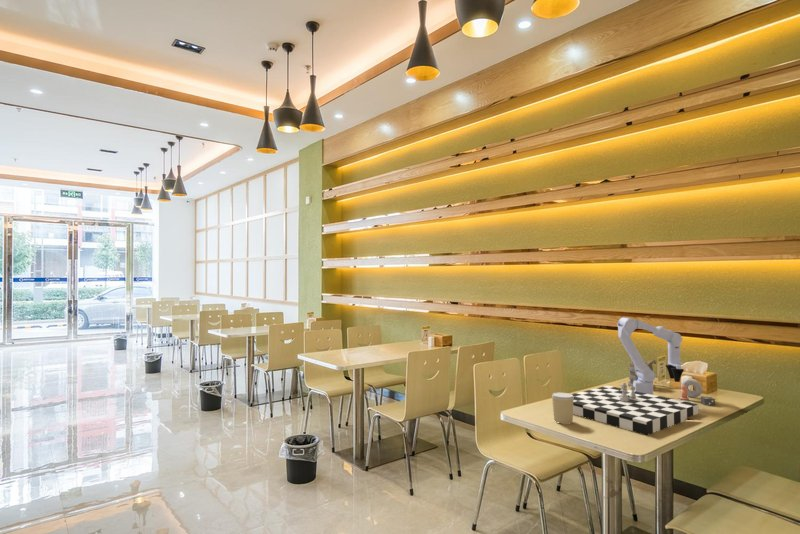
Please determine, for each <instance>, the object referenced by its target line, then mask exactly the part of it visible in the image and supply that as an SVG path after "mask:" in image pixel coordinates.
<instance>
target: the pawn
mask: <svg viewBox="0 0 800 534" xmlns="http://www.w3.org/2000/svg"><path fill="white" fill-rule="evenodd" d="M680 389H681V390H680V391H681V392H680V393H681V395H680V397H679V398H680V399H681V400H682V401H684V400H690V399H689V398H690V397H689V396H687V386H686V385H682V386H681V385H680ZM680 399H679V400H680ZM681 400H680V401H681Z"/></svg>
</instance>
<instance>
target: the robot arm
mask: <svg viewBox="0 0 800 534" xmlns="http://www.w3.org/2000/svg"><path fill="white" fill-rule="evenodd" d="M616 326H617V332H618V333H617V337H618V339H619V340H620V343H621V344H622V346H623V347H624V350H625V351H626V353H627V354H628V357H629V358H630V361H631V362H633V363H634V365H635V366H634V368H635V371H636V375H637V377H638V380H637V381H633V386H635V390H634V391H636V392H641V393H646V394H651V395H654V381H655V379H656V373H655V371H654V370H653V371H652V370H651V369H650V368H649V367H648V366H647V365H646V364H645V362H646V361H644V359H643V357H642V355H641V354H640V352H639V350H638V349H637V347H636V345H635V343H634V341H633V340H632V338H631V336H632V333H634V331H635V330H636V329H643V330H645V331H648V332H651V333H652V334H653V335H654V336H655V337H656V338H659V339H661V340H664V341H666V342H667V364H666V365H665V368H666V369H667V371H668V375H669V378H670V379H671V380H674V382H677V383H680V381H681V378H682V374H683V372H684V371H685V369H683V368H682V365H684V363H683V362H681V344H682V342H683V337H682V335H681V334H680V333H679V332H674V331H673V330H672V329H667V328H665V326H663V325H658V326H653V325H651V324H649V323H647V322H644V321H642V320H639V319H634V318H629V317H626V316H625V317H624V316H623V317H620V319H618V322H617V324H616Z"/></svg>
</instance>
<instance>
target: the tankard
mask: <svg viewBox="0 0 800 534" xmlns="http://www.w3.org/2000/svg"><path fill="white" fill-rule="evenodd" d="M644 362H645V364H646V365H647V366H648V367H649V368H650V369H651V370H652V371H653V372H654V369H653V364H655V365H656V364H657V363H658V362H657V361H656V360H655V359H651V360H650V361H648V362H646V361H644ZM634 366H635V365H634V363H633V362H632V361H630V362H629V365H628V371H629V373H628V379H629V380H628V382H627V387H629V388H630V386H633V381H637V380H638V377H637V375H636V371H635V368H634Z"/></svg>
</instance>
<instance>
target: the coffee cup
mask: <svg viewBox="0 0 800 534" xmlns="http://www.w3.org/2000/svg"><path fill="white" fill-rule="evenodd" d="M572 394H573V393H568V392H559V391H558V392H553V393H552V395H551V398H552V411H553V421H554V420H555V421H556V422H559V423H564V424H563V425H570V424H569V423H571V424H573V421H574V420H573V418H574V414H573V401H574V397H573V395H572ZM555 421H554V422H555ZM556 422H555V423H556ZM559 423H558V424H559Z"/></svg>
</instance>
